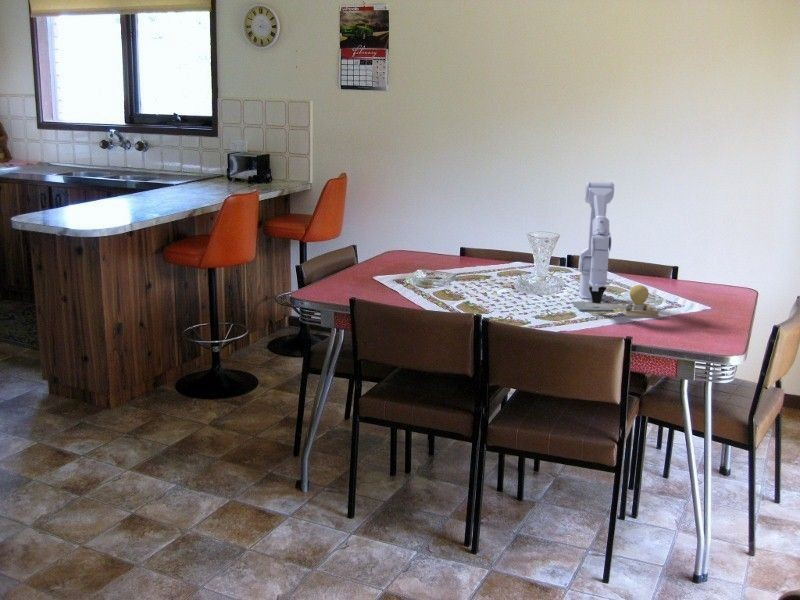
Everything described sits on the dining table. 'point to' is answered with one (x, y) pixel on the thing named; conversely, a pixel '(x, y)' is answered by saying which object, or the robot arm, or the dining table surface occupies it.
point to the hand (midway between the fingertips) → (596, 307)
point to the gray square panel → (589, 307)
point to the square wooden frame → (640, 311)
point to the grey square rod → (609, 305)
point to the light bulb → (638, 296)
